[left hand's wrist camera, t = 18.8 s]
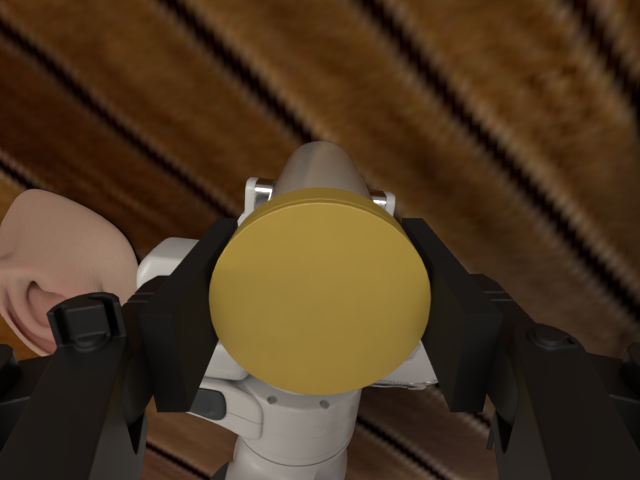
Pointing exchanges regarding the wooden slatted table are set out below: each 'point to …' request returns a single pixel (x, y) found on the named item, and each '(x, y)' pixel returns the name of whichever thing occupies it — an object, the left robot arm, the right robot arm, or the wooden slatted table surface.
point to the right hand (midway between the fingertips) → (320, 186)
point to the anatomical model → (57, 262)
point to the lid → (319, 293)
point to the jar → (319, 170)
